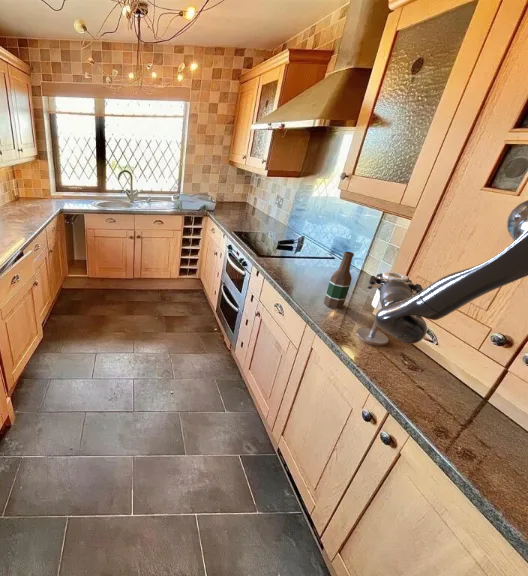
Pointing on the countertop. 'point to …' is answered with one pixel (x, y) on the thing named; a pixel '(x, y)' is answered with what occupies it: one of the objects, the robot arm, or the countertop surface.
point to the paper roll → (391, 277)
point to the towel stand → (372, 336)
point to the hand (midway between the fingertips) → (392, 278)
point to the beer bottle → (339, 283)
